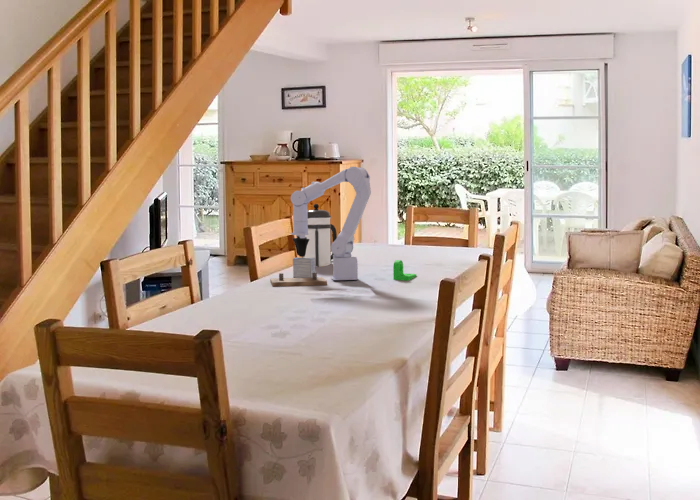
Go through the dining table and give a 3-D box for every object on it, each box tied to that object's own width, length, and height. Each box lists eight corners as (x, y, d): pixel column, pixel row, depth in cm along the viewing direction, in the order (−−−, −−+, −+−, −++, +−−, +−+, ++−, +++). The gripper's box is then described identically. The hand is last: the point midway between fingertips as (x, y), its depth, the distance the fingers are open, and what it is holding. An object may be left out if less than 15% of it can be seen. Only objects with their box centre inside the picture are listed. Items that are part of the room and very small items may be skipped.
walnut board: (321, 281, 300) (321, 270, 300) (327, 285, 285) (326, 274, 285) (270, 282, 297) (270, 272, 297) (272, 286, 282) (272, 275, 282)
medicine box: (315, 279, 308) (315, 257, 308) (311, 280, 304) (311, 258, 304) (297, 278, 311) (297, 257, 310) (293, 279, 307) (292, 258, 306)
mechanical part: (408, 281, 297) (407, 261, 297) (393, 281, 300) (393, 260, 299) (418, 278, 308) (418, 258, 308) (404, 278, 311) (404, 258, 310)
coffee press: (335, 273, 330) (335, 203, 328) (298, 274, 330) (297, 203, 328) (337, 270, 347) (336, 203, 345) (301, 270, 347) (300, 203, 346)
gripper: (288, 221, 311) (289, 255, 312) (292, 222, 297) (292, 257, 298) (305, 221, 313) (306, 254, 313) (310, 221, 298) (310, 256, 299)
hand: (301, 255), depth 306 cm, fingers open, 7 cm apart
